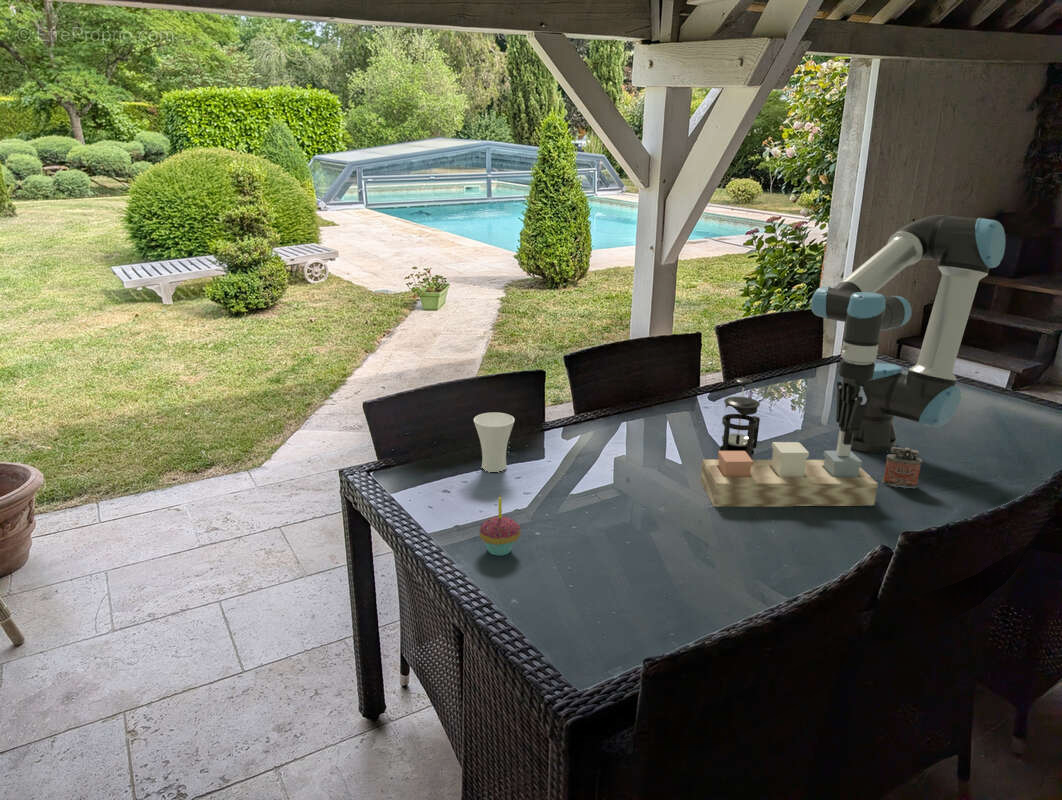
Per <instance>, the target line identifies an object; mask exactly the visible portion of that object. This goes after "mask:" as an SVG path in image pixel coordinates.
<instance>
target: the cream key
mask: <svg viewBox="0 0 1062 800" xmlns="http://www.w3.org/2000/svg"><path fill="white" fill-rule="evenodd" d="M771 448H772V455H771V460H772V462H771V468H772V469H773V470H774V471H775V473H776V474H777V475H778V476H779V477H804V473H805V466H806V460H808V459H807V458H809V457H810V452H809V451H808V450H807V449H806V448H805V447H804V445H802V443H800V442H797V441H795V442H793V441H789V442H788V441H783V442H782V441H772V442H771Z"/></svg>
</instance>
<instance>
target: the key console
mask: <svg viewBox="0 0 1062 800" xmlns="http://www.w3.org/2000/svg"><path fill="white" fill-rule="evenodd" d="M752 461H753V466H751V471H750V477H723V475H722V474H721V472H720V470H719V469H718V464H719V460H718V459H702V460H701V469H700V471H701V472H700V479H699V480H700V481H699V482H700V484H701V485H702V487H703V489H704V491H705V493H706V494H707V496H708V498H709V500H710V501H711V503H712V505H713V507H715V508H717V507H718V508H719V507H720V508H721V507H724V508H726V507H730V508H733V507H734V508H736V507H737V508H739V507H740V508H741V507H743V508H745V507H746V508H749V507H750V508H751V507H752V508H753V507H754V508H755V507H756V508H757V507H758V508H760V507H762V508H763V507H767V508H771V507H772V508H774V507H775V508H776V507H777V508H780V507H781V508H784V507H785V508H789V507H791V508H794V507H793V506H860V505H874V506H875V503H876V497H877V490H878V486H879V485H878V484H879V483H878V482H877V481H876V480H874V479H873V477H871V475H869V474H868V473H867V472H866V471H865V470H864V469H863V468H862V466H860V467H859V473H858V477H831V475H830V474H829V473H828V472H827V471H826V470H825V469H824V468H823V465H824V459H806V466H805V473H804V477H779V476H778V475H777V474H776V473H775V471H774V470H773V469H772V468H771V462H772V459H753V460H752Z"/></svg>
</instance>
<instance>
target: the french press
mask: <svg viewBox="0 0 1062 800" xmlns="http://www.w3.org/2000/svg"><path fill="white" fill-rule="evenodd" d="M735 382H736V383H739V384H741V388H742V391H741V392H742V393H741V396H729V397H726V398H725V399H724V404H725V408H729V407H731V408H733V409H734V410H736V412H737V413H729V414H725V415H723V416H722V421H721V424H722V425H723V426H724V429H723V435H722V436H721V440H722V445H720V446H719V450H718V451H746V453H747V454H748V455H749V457H750V458H751V459H752V460H754V454H755V450H754V449H757V445H758V438H759V437H758V436H759V429H760V421H761V418H760V417H759V416H756V415H755V414H757V412H758V407H760V402H759V401H758V400H756V399H754V398H750V397H746V396H744V392H745V388H746V385H749V384H753V380H752V379H750V378H744V377H740V378H736V379H735ZM752 415H753V416H752ZM732 419H733V420H734V419H735V420H736V419H737V420H738V424H737V423H736V424H735V423H731V420H732ZM741 420H746V421H748V424H747V425H745V424H744V425H743V424H741V422H742V421H741ZM731 429H732V430H736V431H737V433H730V430H731ZM740 431H747V434H743V433H740ZM717 460H719V456H718V455H717Z"/></svg>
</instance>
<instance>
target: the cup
mask: <svg viewBox="0 0 1062 800" xmlns="http://www.w3.org/2000/svg"><path fill="white" fill-rule="evenodd" d="M515 419H516V418H514V416H513V415H510V414H508V413H504V412H495V411H494V412H485V413H480V414H478V415H475V417H474V418H473V423H474V427H475V428H476V431H477V436H478V437H479V442H480V446H481V447H480V448H481V456H482V458H481V459H482V460H481V461H482V462H481V469H482V468H483V469H484V470H486V471H489V472H488V473H490V472H498V473H500V472H499V471H502V470H505V469H506V467H507V449H508V448H507V447H508V443H509V440H510V436H511V432H512V430H513V427H514V423H515V421H516V420H515ZM507 468H508V467H507ZM484 470H483V471H484ZM506 470H507V469H506ZM506 470H505V471H506ZM486 471H485V472H486ZM502 472H503V471H502Z"/></svg>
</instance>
